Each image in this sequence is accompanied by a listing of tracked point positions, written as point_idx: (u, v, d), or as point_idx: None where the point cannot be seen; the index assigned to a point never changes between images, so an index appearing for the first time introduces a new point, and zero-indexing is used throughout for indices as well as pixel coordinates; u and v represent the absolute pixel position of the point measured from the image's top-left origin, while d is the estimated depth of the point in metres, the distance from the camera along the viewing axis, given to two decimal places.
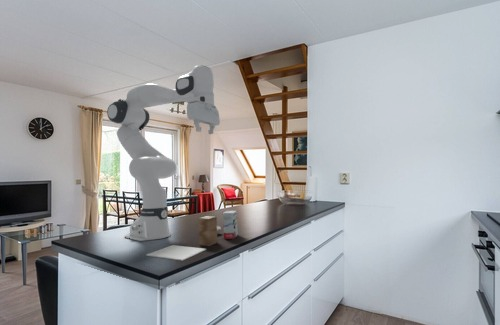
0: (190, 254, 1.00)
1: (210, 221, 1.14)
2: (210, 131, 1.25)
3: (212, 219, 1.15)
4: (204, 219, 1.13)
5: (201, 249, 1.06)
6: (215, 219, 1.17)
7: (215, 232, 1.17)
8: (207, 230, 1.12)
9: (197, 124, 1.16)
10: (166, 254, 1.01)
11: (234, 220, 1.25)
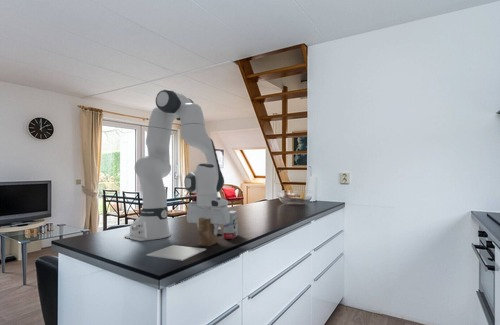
0: (190, 254, 1.00)
1: None
2: None
3: None
4: (204, 219, 1.13)
5: (201, 249, 1.06)
6: None
7: None
8: (207, 230, 1.12)
9: (217, 227, 1.15)
10: (166, 254, 1.01)
11: (234, 220, 1.25)
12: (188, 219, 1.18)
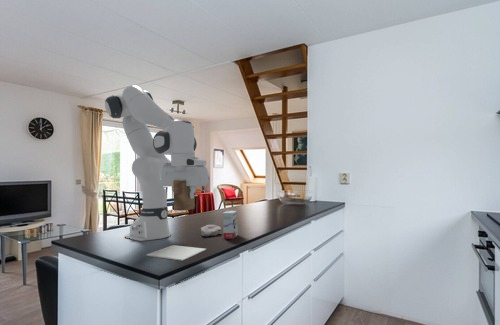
0: (190, 254, 1.00)
1: None
2: None
3: None
4: (179, 181, 1.01)
5: (201, 249, 1.06)
6: None
7: None
8: (182, 193, 1.00)
9: (194, 190, 1.02)
10: (166, 254, 1.01)
11: (234, 220, 1.25)
12: (162, 183, 1.06)
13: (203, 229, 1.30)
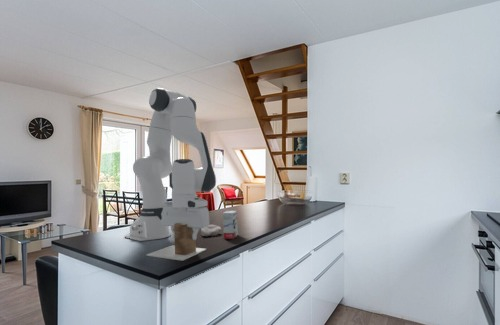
0: (190, 254, 1.00)
1: (187, 227, 1.00)
2: None
3: None
4: (180, 225, 1.00)
5: (201, 249, 1.06)
6: None
7: (194, 240, 1.03)
8: (183, 237, 0.99)
9: (197, 231, 1.01)
10: (166, 254, 1.01)
11: (234, 220, 1.25)
12: (163, 222, 1.05)
13: (203, 229, 1.30)
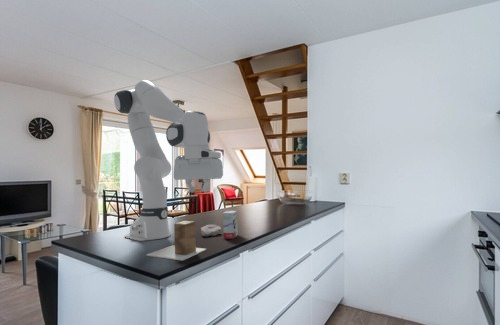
0: (190, 254, 1.00)
1: (187, 227, 1.00)
2: (193, 188, 1.01)
3: (190, 224, 1.02)
4: (180, 225, 1.00)
5: (201, 249, 1.06)
6: (193, 224, 1.04)
7: (194, 240, 1.03)
8: (183, 237, 0.99)
9: (208, 184, 0.99)
10: (166, 254, 1.01)
11: (234, 220, 1.25)
12: (175, 176, 1.03)
13: (203, 229, 1.30)
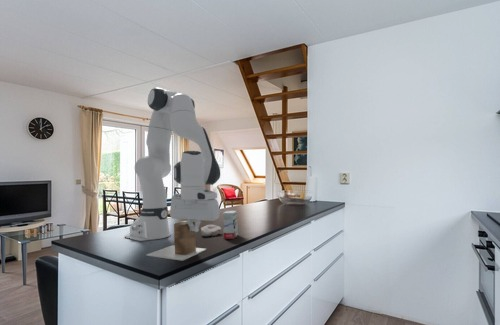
0: (190, 254, 1.00)
1: (187, 227, 1.00)
2: None
3: None
4: (180, 224, 1.00)
5: (201, 249, 1.06)
6: (193, 224, 1.04)
7: (194, 239, 1.03)
8: (183, 237, 0.99)
9: (199, 224, 1.00)
10: (166, 254, 1.01)
11: (234, 220, 1.25)
12: (171, 214, 1.03)
13: (203, 229, 1.30)
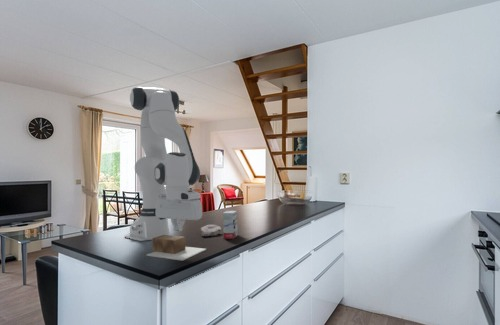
0: (190, 254, 1.00)
1: (157, 237, 1.07)
2: None
3: (158, 236, 1.08)
4: (153, 243, 1.06)
5: (201, 249, 1.06)
6: (163, 235, 1.10)
7: (174, 236, 1.08)
8: (161, 240, 1.04)
9: (183, 223, 1.04)
10: (166, 254, 1.01)
11: (234, 220, 1.25)
12: (157, 214, 1.07)
13: (203, 229, 1.30)
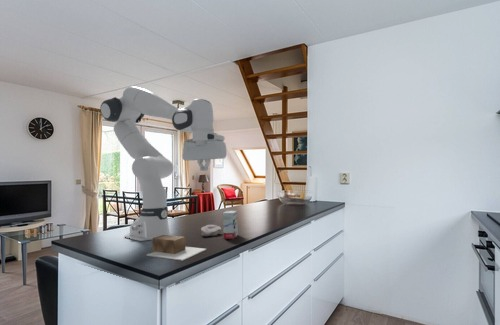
0: (190, 254, 1.00)
1: (157, 237, 1.07)
2: None
3: (158, 236, 1.08)
4: (153, 243, 1.06)
5: (201, 249, 1.06)
6: (163, 235, 1.10)
7: (174, 236, 1.08)
8: (161, 240, 1.04)
9: (208, 163, 1.13)
10: (166, 254, 1.01)
11: (234, 220, 1.25)
12: (184, 157, 1.16)
13: (203, 229, 1.30)
